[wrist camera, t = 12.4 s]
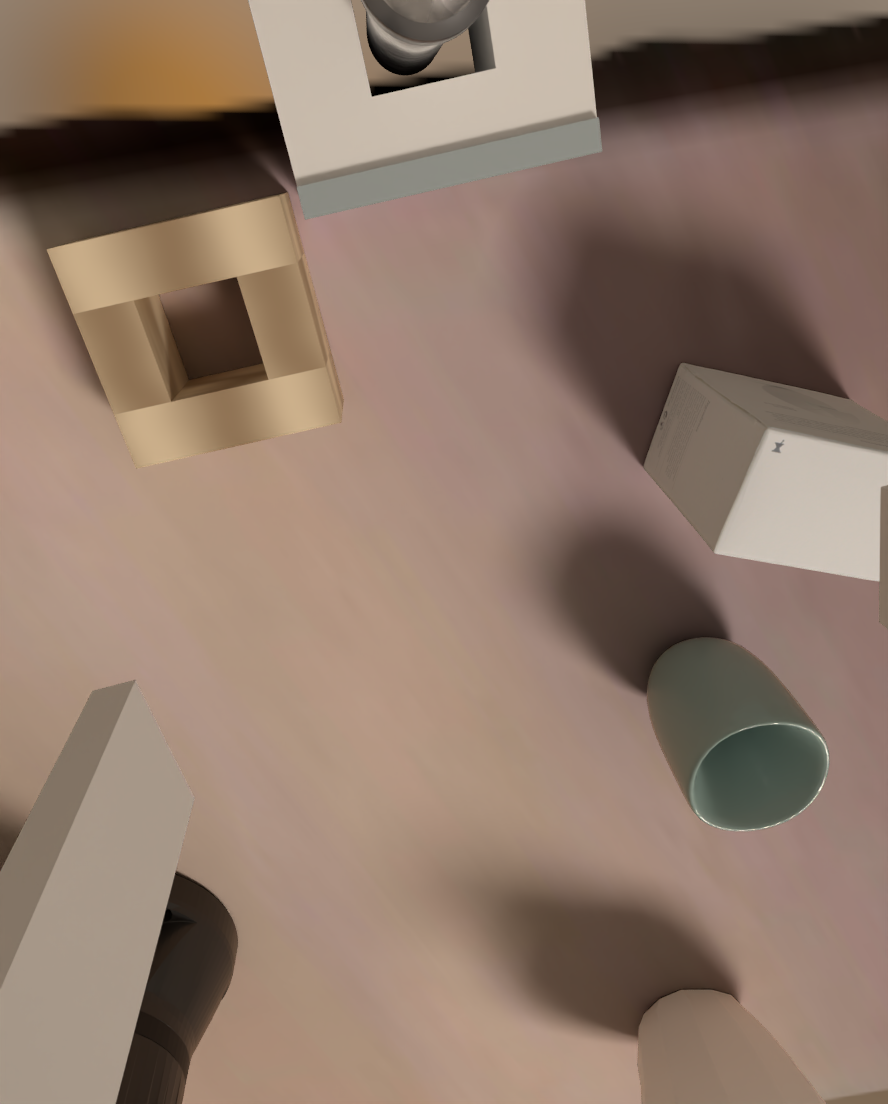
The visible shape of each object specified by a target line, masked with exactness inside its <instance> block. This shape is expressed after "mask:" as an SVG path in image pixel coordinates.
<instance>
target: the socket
mask: <svg viewBox="0 0 888 1104" xmlns="http://www.w3.org/2000/svg"><path fill="white" fill-rule="evenodd" d="M248 2H249V6H250V10H251V13H252V17H253V21H254V25H255V29H256V32H257V36H258V40H259V44H260V47H261V51H262V55H263V59H264V63H265V66H266V70H267V74H268V78H269V82H270V86H271V89H272V93H273V97H274V101H275V105H276V108H277V112H278V116H279V120H280V124H281V127H282V131H283V135H284V139H285V143H286V146H287V150H288V154H289V158H290V162H291V165H292V169H293V173H294V177H295V180H296V184H297V191H298V195H299V198H300V202H301V206H302V210H303V213H304V217H305V220H306V219H310V218H314V217H319V216H323V215H328V214H332V213H336V212H341V211H345V210H349V209H354V208H358V207H362V206H367V205H371V204H375V203H380V202H384V201H389V200H393V199H397V198H402V197H406V196H410V195H415V194H419V193H423V192H428V191H432V190H437V189H441V188H445V187H450V186H454V185H458V184H463V183H467V182H471V181H476V180H480V179H484V178H489V177H493V176H498V175H502V174H506V173H511V172H515V171H519V170H524V169H528V168H532V167H537V166H541V165H545V164H550V163H554V162H559V161H563V160H567V159H572V158H576V157H580V156H585V155H589V154H593V153H598V152H602V145H601V135H600V125H599V117H598V118H597V115H596V105H595V95H594V85H593V76H592V66H591V56H590V46H589V37H588V28H587V17H586V7H585V0H489V2H488V3H487V5H486V6H485V8H484V10H483V11H482V12H481V14H480V15H479V16H478V18H477V19H476V20H475V21H474V22H473V24H472V25H471V26H470V27H469V28H468V30H469V36H470V42H471V49H472V55H473V61H474V67H475V73H473V74H469V75H464V76H460V77H456V78H451V79H447V80H443V81H438V82H434V83H430V84H425V85H421V86H417V87H412V88H408V89H404V90H400V91H395V92H391V93H387V94H382V95H378V96H374V97H372V95H371V91H370V86H369V81H368V77H367V72H366V67H365V63H364V58H363V53H362V49H361V44H360V40H359V35H358V30H357V25H356V21H355V16H354V11H353V7H352V2H351V0H248Z"/></svg>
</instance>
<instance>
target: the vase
mask: <svg viewBox="0 0 888 1104" xmlns="http://www.w3.org/2000/svg"><path fill="white" fill-rule="evenodd" d="M637 1066H638V1072H639V1079H640V1085H641V1101H642V1104H826V1103H825V1101H824V1100H823V1099H822V1097H821V1096H820V1095H819V1094H818V1092H817V1091H816V1090H815V1088H814V1087H813V1086H812V1084H811V1083H810V1082H809V1081H808V1079H807V1078H806V1077H805V1075H804V1074H803V1073H802V1072H801V1070H800V1069H799V1068H798V1066H797V1065H796V1064H795V1062H794V1061H793V1060H792V1059H791V1057H790V1056H789V1055H788V1053H787V1052H786V1051H785V1050H784V1048H783V1047H782V1046H781V1045H780V1044H779V1043H778V1041H777V1040H776V1039H775V1038H774V1037H773V1036H772V1035H771V1033H770V1032H769V1031H768V1030H767V1029H766V1028H765V1027H764V1026H763V1025H762V1024H761V1023H760V1022H759V1021H758V1020H757V1019H756V1018H755V1017H754V1016H753V1015H752V1014H750V1013H749V1012H748V1011H747V1010H746V1009H745V1008H744V1007H743V1006H742V1005H741V1004H740V1003H739V1002H738V1001H737V1000H736V999H735V998H734V997H733V996H732V995H729V994H726V993H722V992H718V991H715V990H679V991H677V992H675V993H672V994H670V995H667V996H665V997H663V998H660V999H659V1000H658V1001H657V1002H656V1003H655V1004H654V1005H653V1006H652V1007H651V1008H650V1009H648V1010H647V1011H646V1012H645V1013H644V1015H643V1017H642V1020H641V1023H640V1025H639V1032H638V1059H637Z"/></svg>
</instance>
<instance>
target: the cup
mask: <svg viewBox="0 0 888 1104" xmlns="http://www.w3.org/2000/svg"><path fill="white" fill-rule="evenodd" d="M647 705H648V711H649V717H650V720H651V724H652V727H653V730H654V733H655V735H656V738H657V740H658V743H659V745H660V747H661V750H662V752H663V754H664V756H665V758H666V761H667V763H668V765H669V767H670V769H671V771H672V773H673V775H674V777H675V779H676V781H677V783H678V785H679V787H680V789H681V791H682V793H683V795H684V797H685V799H686V801H687V803H688V805H689V806H690V808H691V809H692V811H693V812H694V813H695V814H696V815H697V816H698V817H699V818H700V820H702V821H704V822H705V823H707V824H708V825H710V826H713V827H716V828H719V829H722V830H729V831H753V830H761V829H765V828H769V827H773V826H776V825H779V824H781V823H784V822H786V821H788V820H790V819H792V818H793V817H795V816H797V815H799V814H800V813H801V812H802V811H803V810H805V809H806V808H807V807H808V806H809V805H810V804H811V803H812V802H813V800H814V799H815V798H816V797H817V795H818V794H819V792H820V790H821V789H822V787H823V785H824V782H825V780H826V777H827V774H828V768H829V750H828V747H827V744H826V741H825V739H824V737H823V735H822V734H821V732H820V731H819V729H818V728H817V727H816V725H815V724H814V723H813V721H812V720H811V718H810V717H809V716H808V714H807V713H806V712H805V711H804V709H803V708H802V707H801V705H800V704H799V703H798V702H797V700H796V699H795V698H794V697H793V695H792V694H791V693H790V692H789V690H788V689H787V688H786V687H785V686H784V684H783V683H782V682H781V681H780V680H779V678H778V677H777V676H776V675H775V674H774V673H773V672H772V671H771V670H770V669H769V668H768V667H767V666H766V665H765V664H764V663H763V662H762V661H761V660H760V659H759V658H757V657H756V656H755V655H754V654H752V653H751V652H750V651H748V650H747V649H745V648H744V647H742V646H741V645H738V644H736V643H734V642H731V641H729V640H726V639H720V638H715V637H698V638H692V639H688V640H684V641H682V642H679V643H677V644H675V645H673V646H672V647H670V648H668V649H667V650H666V651H665V652H664V653H663V654H662V655H661V656H660V657H659V658H658V659H657V661H656V662H655V664H654V666H653V668H652V670H651V673H650V676H649V680H648V684H647Z"/></svg>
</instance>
